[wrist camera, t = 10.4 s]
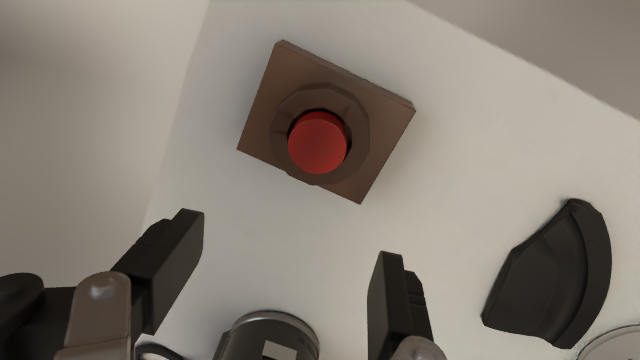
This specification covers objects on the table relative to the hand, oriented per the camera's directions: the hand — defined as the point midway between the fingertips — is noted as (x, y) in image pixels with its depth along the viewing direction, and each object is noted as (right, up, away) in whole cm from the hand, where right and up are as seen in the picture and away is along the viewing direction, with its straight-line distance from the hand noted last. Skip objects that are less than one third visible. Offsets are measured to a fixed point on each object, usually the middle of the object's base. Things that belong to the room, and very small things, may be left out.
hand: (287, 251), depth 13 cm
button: (+1, +5, +11) cm, 12 cm away
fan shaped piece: (+21, -6, +18) cm, 28 cm away
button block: (+1, +7, +14) cm, 16 cm away
